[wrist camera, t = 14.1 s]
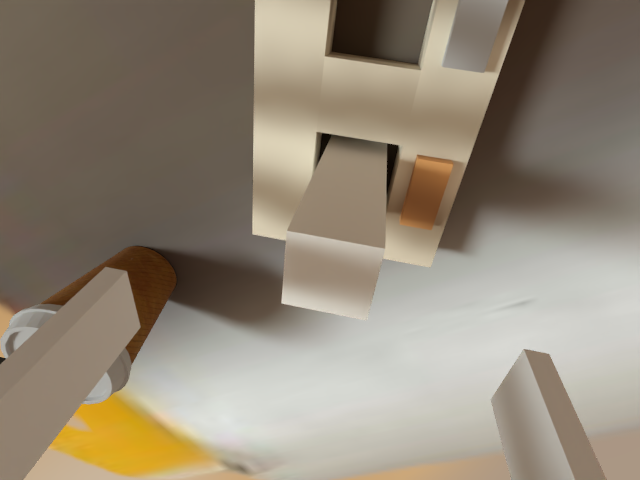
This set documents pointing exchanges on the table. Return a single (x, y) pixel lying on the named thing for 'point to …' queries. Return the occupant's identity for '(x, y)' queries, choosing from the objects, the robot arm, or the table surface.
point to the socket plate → (374, 110)
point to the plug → (339, 231)
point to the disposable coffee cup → (150, 298)
